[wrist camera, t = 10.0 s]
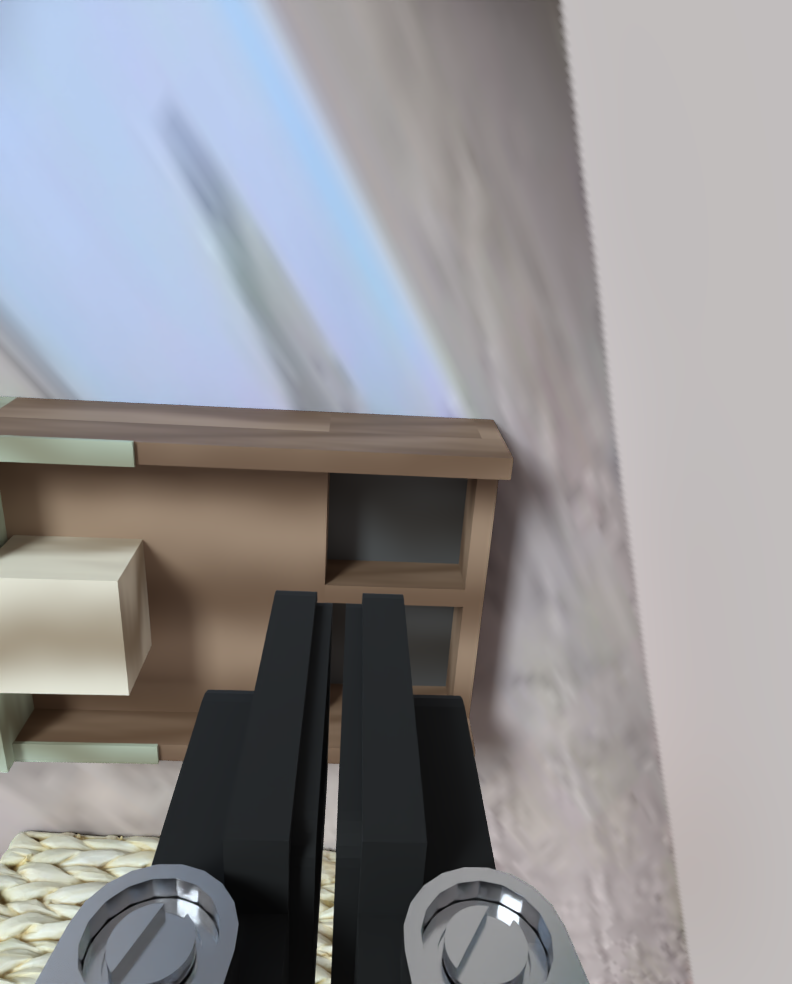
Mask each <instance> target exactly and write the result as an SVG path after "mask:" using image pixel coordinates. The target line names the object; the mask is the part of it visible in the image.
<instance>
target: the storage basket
mask: <svg viewBox="0 0 792 984" xmlns="http://www.w3.org/2000/svg"><path fill="white" fill-rule="evenodd" d="M159 839H160V838H157V837H144V836H132V837H125V838H123V836H121V837H120V838H119V837H118V836H114V835H108V836H106V837H101V836H88V835H80V834H78V835H77V834H74V833H70V832H65V833H61V834H60V833H48V832H34V831H29V832H21V833H19V834H17V835H16V836H15V838H14V839H13V840H12V841H11V843H10V845H9V848H8V850H7V851H6V852H5V853H4V854H3V856H2V858H1V859H0V984H35V982H36V981H37V979H38V977H39V975H40V974H41V972H42V970H43V968H44V966H45V965H46V963H47V961H48V959H49V957H50V956H51V954H52V952H53V950H54V949H55V947H56V945H57V943H58V941H59V940H60V938H61V936H62V934H63V933H64V931H65V929H66V927H67V925H68V924H69V922H70V921H71V920H72V918H73V917H74V916H75V914H76V913H77V912H78V910H79V909H80V908H81V906H82V905H83V904H84V902H85V901H86V900H88V899H89V898H90V897H91V896H92V895H94V894H95V893H96V892H97V891H99V890H100V889H101V888H102V887H103V886H105V885H106V884H107V883H109V882H111V881H113V880H115V879H117V878H119V877H121V876H123V875H125V874H127V873H129V872H131V871H133V870H137V869H141V868H145V867H149V866H151V865H152V862H153V859H154V855H155V852H156V849H157V845H158V842H159ZM335 864H336V852H332V851H327V850H323V857H322V874H321V891H320V907H319V924H318V941H317V957H316V974H315V984H331V964H332V939H333V914H334V889H335Z"/></svg>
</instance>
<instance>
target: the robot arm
mask: <svg viewBox="0 0 792 984" xmlns="http://www.w3.org/2000/svg"><path fill="white" fill-rule="evenodd" d="M317 600H318V599H317V592H312V591H281V590H276V591H275V595H274V600H273V604H272V609H271V614H270V619H269V623H268V628H267V633H266V637H265V642H264V647H263V652H262V656H261V661H260V666H259V671H258V675H257V680H256V685H255V690H254V691H247V690H207V691H206V692H205V694H204V697H203V699H202V702H201V705H200V709H199V712H198V715H197V718H196V722H195V725H194V728H193V731H192V735H191V738H190V741H189V744H188V748H187V751H186V754H185V757H184V761H183V764H182V767H181V770H180V774H179V777H178V780H177V784H176V787H175V790H174V793H173V797H172V800H171V803H170V806H169V810H168V813H167V816H166V819H165V823H164V826H163V829H162V832H161V836H160V839H159V842H158V845H157V849H156V852H155V855H154V859H153V862H152V865H151V866H149V867H145V868H141V869H137V870H133V871H131V872H129V873H127V874H125V875H123V876H121V877H119V878H117V879H115V880H113V881H111V882H109V883H107V884H106V885H105V886H103V887H102V888H101V889H100V890H99V891H97V892H96V893H95V894H94V895H92V896H91V897H90V898H89V899H88V900H86V901H85V902H84V904H83V905H82V906H81V908H80V909H79V910H78V912H77V913H76V914H75V916H74V917H73V918H72V920H71V921H70V922H69V924H68V925H67V927H66V929H65V931H64V933H63V934H62V936H61V938H60V940H59V941H58V943H57V945H56V947H55V949H54V950H53V952H52V954H51V956H50V957H49V959H48V961H47V963H46V965H45V966H44V968H43V970H42V972H41V974H40V975H39V977H38V979H37V981H36V982H35V984H315V974H316V957H317V941H318V924H319V907H320V891H321V874H322V857H323V840H324V824H325V807H326V790H327V770H328V741H329V711H330V680H331V650H332V619H333V603H317ZM331 984H589V981H588V979H587V977H586V974H585V972H584V970H583V967H582V965H581V963H580V960H579V958H578V956H577V953H576V951H575V949H574V946H573V944H572V942H571V939H570V937H569V935H568V932H567V930H566V928H565V926H564V924H563V922H562V921H561V919H560V917H559V916H558V914H557V912H556V911H555V909H554V907H553V906H552V904H550V903H549V902H548V901H547V900H546V899H545V898H544V897H543V896H542V895H541V894H540V893H539V892H538V891H537V890H536V889H535V888H534V887H533V886H531V885H529V884H527V883H526V882H524V881H522V880H520V879H519V878H517V877H515V876H513V875H512V874H508V873H505V872H501V871H498V870H496V868H495V863H494V857H493V852H492V847H491V842H490V836H489V831H488V826H487V821H486V815H485V810H484V805H483V800H482V794H481V789H480V784H479V779H478V773H477V768H476V763H475V758H474V752H473V747H472V742H471V737H470V731H469V726H468V721H467V716H466V710H465V706H464V702H463V699H462V697H461V696H455V695H413V688H412V678H411V667H410V657H409V647H408V636H407V626H406V615H405V605H404V596H403V594H375V593H363V594H362V604H346V618H345V643H344V667H343V692H342V716H341V741H340V765H339V790H338V815H337V840H336V864H335V889H334V914H333V939H332V964H331Z"/></svg>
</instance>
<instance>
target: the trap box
mask: <svg viewBox="0 0 792 984" xmlns="http://www.w3.org/2000/svg"><path fill="white" fill-rule="evenodd" d="M512 466H513V457H512V455H511V453H510V451H509V449H508V447H507V445H506V443H505V442H504V440H503V438H502V436H501V434H500V432H499V430H498V428H497V426H496V424H495V423H494V421H493V420H487V419H466V418H444V417H423V416H402V415H380V414H359V413H338V412H316V411H295V410H274V409H252V408H231V407H210V406H188V405H167V404H146V403H124V402H103V401H82V400H60V399H39V398H18V397H0V548H1V547H2V546H3V545H4V544H5V543H6V542H7V541H8V540H9V539H10V538H11V537H12V536H13V535H28V536H59V537H90V538H121V539H143V547H144V559H145V570H146V582H147V594H148V606H149V618H150V630H151V642H152V646H151V648H150V650H149V652H148V654H147V657H146V659H145V661H144V663H143V666H142V668H141V670H140V672H139V674H138V677H137V679H136V681H135V683H134V686H133V688H132V690H131V692H130V694H129V695H80V694H30V693H0V772H7V773H8V771H9V770H10V768H11V766H12V765H13V763H14V761H20V762H75V763H131V764H158V763H159V760H168V761H184V757H185V754H186V751H187V748H188V744H189V741H190V738H191V735H192V731H193V728H194V725H195V722H196V718H197V715H198V712H199V709H200V705H201V702H202V699H203V697H204V694H205V692H206V691H207V690H247V691H254V690H255V685H256V680H257V675H258V671H259V666H260V661H261V656H262V652H263V647H264V642H265V637H266V633H267V628H268V623H269V619H270V614H271V609H272V604H273V600H274V595H275V591H276V590H281V591H312V592H317V599H318V600H317V603H333V619H332V650H331V680H330V711H329V741H328V763H332V764H340V741H341V716H342V692H343V667H344V643H345V618H346V604H362V594H363V593H375V594H403V596H404V605H405V615H406V626H407V636H408V647H409V657H410V667H411V678H412V688H413V695H455V696H461V697H462V699H463V702H464V706H465V710H466V716H467V721H468V726H469V731H470V737H471V742H472V747H473V752H474V757H475V747H474V742H473V736H472V731H471V726H470V721H469V714H470V706H471V698H472V690H473V682H474V673H475V665H476V657H477V649H478V641H479V633H480V625H481V617H482V609H483V601H484V593H485V585H486V576H487V568H488V560H489V552H490V544H491V536H492V528H493V520H494V512H495V504H496V496H497V488H498V480H511V474H512Z"/></svg>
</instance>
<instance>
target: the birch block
mask: <svg viewBox="0 0 792 984" xmlns="http://www.w3.org/2000/svg"><path fill="white" fill-rule="evenodd" d="M151 646H152V642H151V630H150V618H149V606H148V594H147V582H146V570H145V559H144V547H143V539H121V538H90V537H59V536H28V535H13V536H12V537H11V538H10V539H9V540H8V541H7V542H6V543H5V544H4V545H3V546H2V547H1V548H0V693H30V694H80V695H129V694H130V692H131V690H132V688H133V686H134V683H135V681H136V679H137V677H138V674H139V672H140V670H141V668H142V666H143V663H144V661H145V659H146V657H147V654H148V652H149V650H150V648H151Z"/></svg>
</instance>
